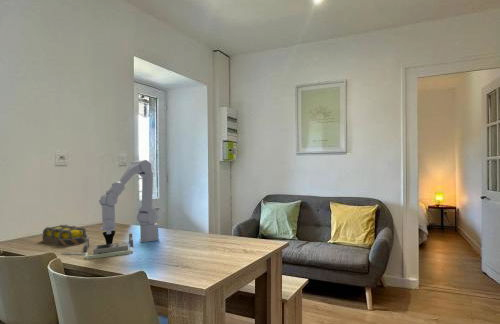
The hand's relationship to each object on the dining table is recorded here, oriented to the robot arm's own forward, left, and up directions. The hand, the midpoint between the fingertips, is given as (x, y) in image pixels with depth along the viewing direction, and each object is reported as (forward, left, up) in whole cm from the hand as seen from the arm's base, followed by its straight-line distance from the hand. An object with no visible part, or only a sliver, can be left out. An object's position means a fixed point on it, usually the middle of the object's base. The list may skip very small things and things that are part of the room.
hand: (109, 246), depth 156 cm
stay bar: (+15, 0, -2) cm, 15 cm away
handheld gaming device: (-1, +6, -2) cm, 6 cm away
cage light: (+23, -36, -2) cm, 43 cm away
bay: (0, +8, -2) cm, 9 cm away
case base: (0, -8, -2) cm, 8 cm away
